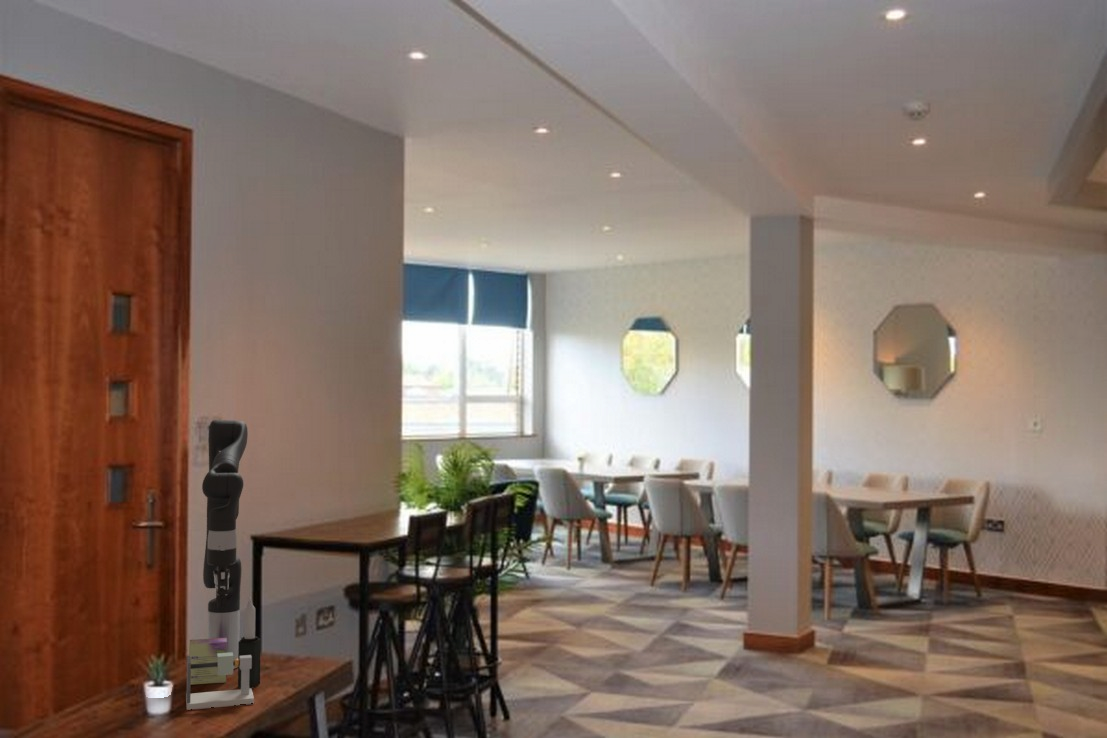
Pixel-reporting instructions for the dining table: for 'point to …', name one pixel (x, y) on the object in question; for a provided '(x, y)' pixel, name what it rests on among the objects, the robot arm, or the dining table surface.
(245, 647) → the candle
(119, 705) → the dining table surface
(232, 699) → the cord rack
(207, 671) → the box
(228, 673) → the sleeve
